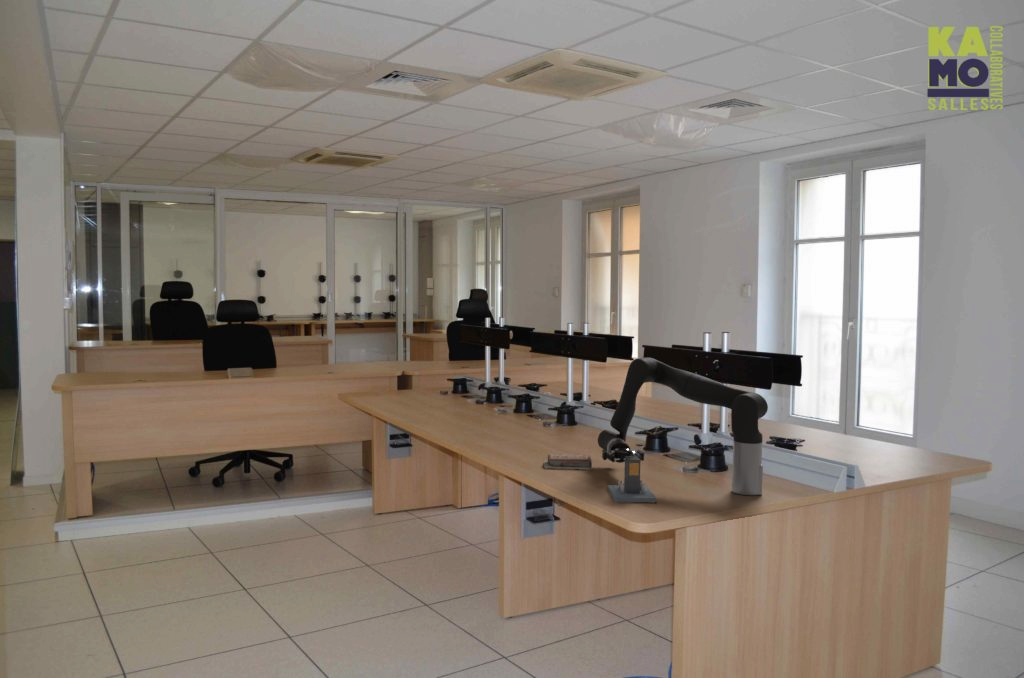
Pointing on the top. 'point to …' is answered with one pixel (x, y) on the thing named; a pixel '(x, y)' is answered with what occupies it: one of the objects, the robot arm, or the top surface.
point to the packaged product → (568, 461)
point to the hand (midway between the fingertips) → (626, 459)
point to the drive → (632, 475)
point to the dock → (622, 496)
